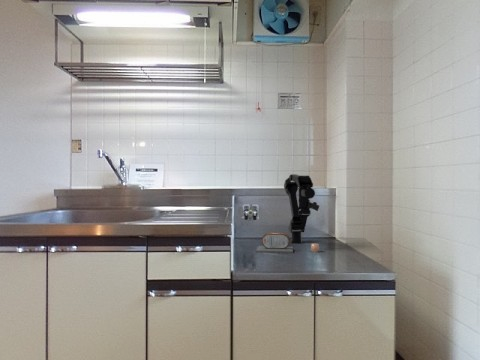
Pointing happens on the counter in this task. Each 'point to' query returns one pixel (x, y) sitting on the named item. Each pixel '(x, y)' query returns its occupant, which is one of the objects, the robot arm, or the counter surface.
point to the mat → (274, 250)
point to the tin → (275, 240)
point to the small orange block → (314, 247)
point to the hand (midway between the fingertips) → (304, 225)
